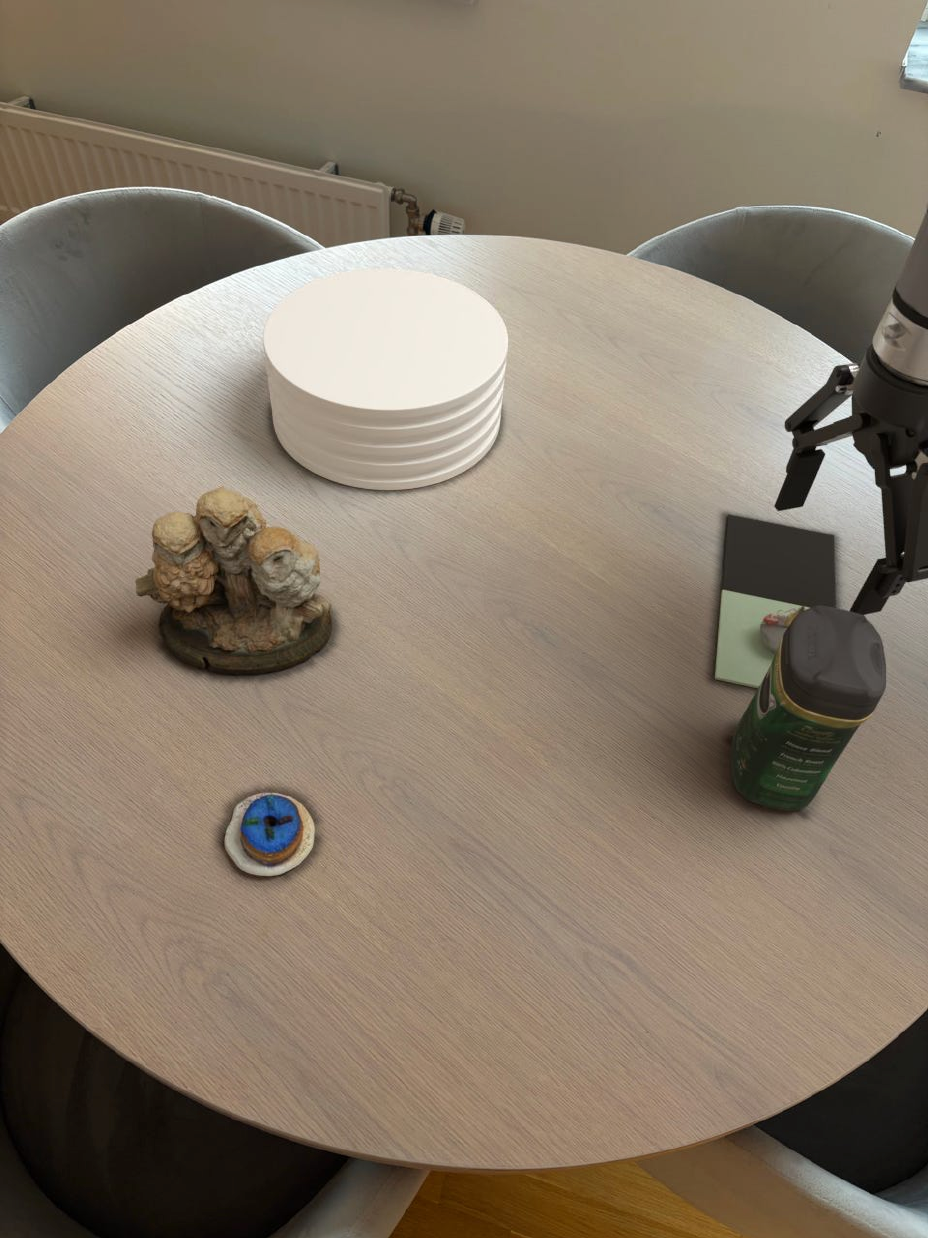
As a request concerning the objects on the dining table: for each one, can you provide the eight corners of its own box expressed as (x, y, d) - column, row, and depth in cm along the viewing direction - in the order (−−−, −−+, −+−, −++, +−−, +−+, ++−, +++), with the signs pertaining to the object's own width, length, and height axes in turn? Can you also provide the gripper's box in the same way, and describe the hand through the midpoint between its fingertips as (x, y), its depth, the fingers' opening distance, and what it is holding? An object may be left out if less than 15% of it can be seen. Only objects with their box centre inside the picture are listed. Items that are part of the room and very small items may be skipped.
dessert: (325, 864, 78) (277, 841, 74) (265, 899, 80) (215, 879, 76) (313, 784, 84) (267, 759, 80) (257, 819, 86) (209, 796, 81)
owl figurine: (142, 678, 90) (98, 554, 77) (159, 585, 98) (122, 458, 85) (332, 674, 92) (322, 552, 79) (335, 583, 99) (325, 458, 86)
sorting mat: (837, 706, 93) (838, 703, 92) (714, 679, 94) (715, 676, 94) (832, 537, 108) (834, 535, 108) (727, 516, 109) (728, 514, 109)
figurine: (787, 669, 95) (807, 631, 90) (746, 648, 96) (764, 610, 92) (806, 635, 98) (826, 597, 93) (766, 616, 99) (784, 578, 95)
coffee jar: (815, 822, 84) (900, 703, 70) (726, 802, 85) (792, 681, 71) (813, 734, 90) (892, 607, 76) (730, 716, 91) (792, 587, 77)
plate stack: (459, 334, 129) (463, 256, 121) (532, 466, 113) (544, 387, 104) (253, 364, 123) (242, 283, 114) (299, 509, 106) (291, 428, 97)
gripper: (792, 276, 77) (726, 473, 94) (980, 476, 62) (862, 670, 78) (872, 266, 79) (793, 462, 95) (1074, 458, 64) (939, 652, 80)
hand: (824, 556), depth 87 cm, fingers open, 13 cm apart
